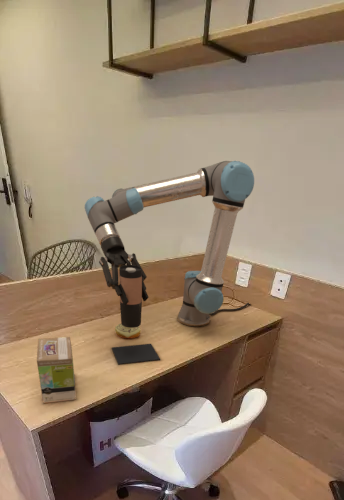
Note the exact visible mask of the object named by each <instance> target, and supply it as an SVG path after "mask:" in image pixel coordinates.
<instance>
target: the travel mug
mask: <svg viewBox="0 0 344 500" xmlns="http://www.w3.org/2000/svg"><path fill="white" fill-rule="evenodd" d="M140 266H141V265H140ZM140 266H136V265H132V264H131V265H123V266H120V267H119V268H118V277H119V284H121V285H122V287H123V289H124V292H125V294H126V296H127V299H128V301H129V302H128V303H127V304H126V305H123V302H122V300H121V298H120V297H119V307H120V309H119V310H120V324H122V325H123V326H124V327H128V328H135V327H138V326H139V327H141V325H142V307H143V299H142V269H143V268H142V266H141V267H140Z"/></svg>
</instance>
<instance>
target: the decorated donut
mask: <svg viewBox="0 0 344 500" xmlns="http://www.w3.org/2000/svg"><path fill="white" fill-rule="evenodd" d="M140 327H141V326H138V327H135V328H128V327H124V326H123V325H122V324H121V323H119V324H117V325H115V326H114V332H115V333H116V335H117V337H120V338H124V339H130V340H131V339H135V338H139V337H140V335H141V332H142V330H141V328H140Z"/></svg>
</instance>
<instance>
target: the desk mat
mask: <svg viewBox="0 0 344 500" xmlns="http://www.w3.org/2000/svg"><path fill="white" fill-rule="evenodd" d="M111 351H112V352H113V355H114V357H115V360H116V363H117V365H118V366H122V365H129V364H140V363H148V362H158V361H161V358H160V356H159V355H158V352H157V351H156V349H155V348H154V346H153V345H152V343H143V344H133V345H122V346H112V347H111Z"/></svg>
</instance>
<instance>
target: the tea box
mask: <svg viewBox="0 0 344 500" xmlns="http://www.w3.org/2000/svg"><path fill="white" fill-rule="evenodd" d="M36 351H37V352H36V364H37V365H36V366H37V372H38V379H39V384H40V385H39V386H40V391H41V397H42V402H43V404H46V403H47V404H48V403H55V402H56V403H57V402H58V403H59V402H67V401H74V400H76V399H77V394H76V393H77V392H76V378H75V368H74V358H73V357H74V356H73V349H72V341H71V337H70V336H64V337H62V336H60V337H43V338H38V339H37V350H36Z"/></svg>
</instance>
